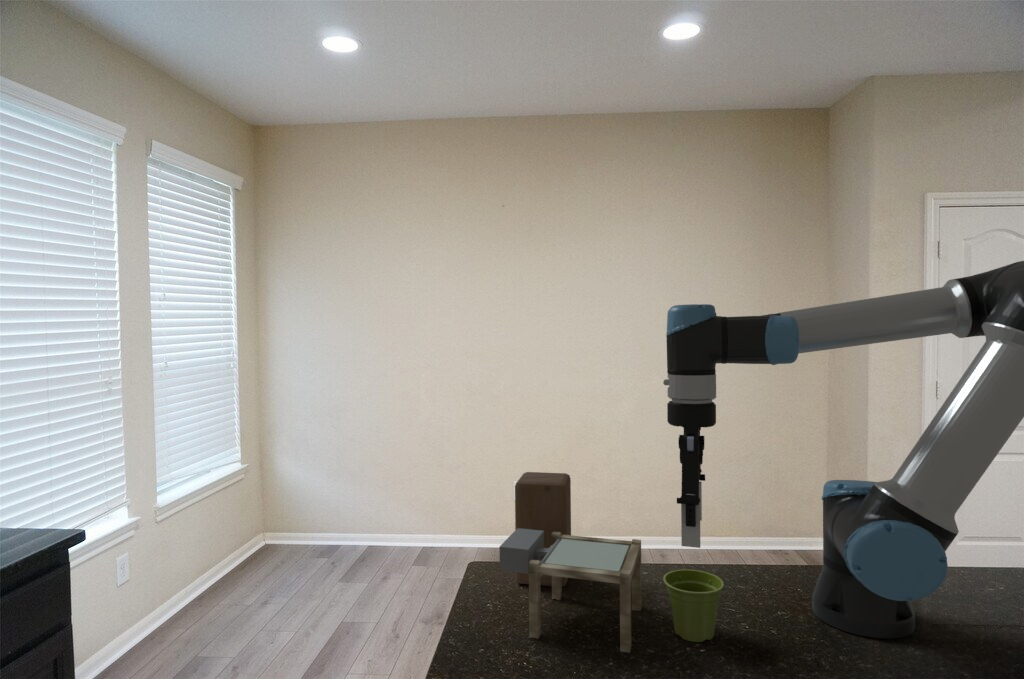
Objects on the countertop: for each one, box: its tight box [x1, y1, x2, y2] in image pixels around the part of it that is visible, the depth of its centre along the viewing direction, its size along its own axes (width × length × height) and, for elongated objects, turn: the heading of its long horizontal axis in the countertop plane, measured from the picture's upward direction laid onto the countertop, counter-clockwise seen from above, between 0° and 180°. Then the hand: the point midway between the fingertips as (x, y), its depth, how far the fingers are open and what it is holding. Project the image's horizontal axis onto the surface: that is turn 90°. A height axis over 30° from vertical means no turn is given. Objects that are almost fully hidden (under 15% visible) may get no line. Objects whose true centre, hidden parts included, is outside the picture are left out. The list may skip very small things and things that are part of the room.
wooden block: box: [514, 471, 572, 587], centre depth 121 cm, size 10×10×20 cm
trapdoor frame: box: [528, 532, 643, 654], centre depth 103 cm, size 16×16×12 cm
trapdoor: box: [499, 528, 629, 574], centre depth 104 cm, size 20×12×4 cm, turn 72°
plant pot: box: [662, 569, 725, 643], centre depth 98 cm, size 9×9×9 cm
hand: (692, 532), depth 98 cm, fingers open, 13 cm apart
